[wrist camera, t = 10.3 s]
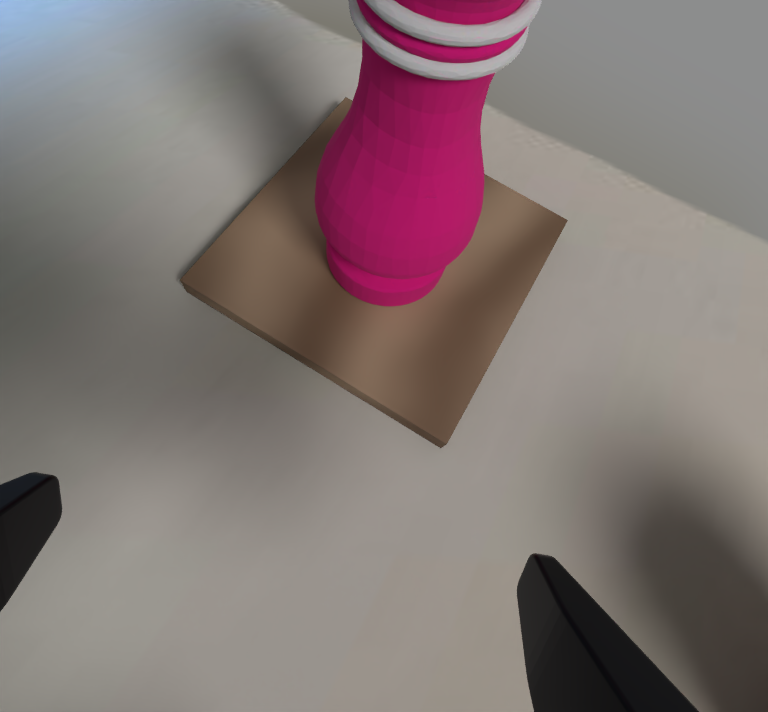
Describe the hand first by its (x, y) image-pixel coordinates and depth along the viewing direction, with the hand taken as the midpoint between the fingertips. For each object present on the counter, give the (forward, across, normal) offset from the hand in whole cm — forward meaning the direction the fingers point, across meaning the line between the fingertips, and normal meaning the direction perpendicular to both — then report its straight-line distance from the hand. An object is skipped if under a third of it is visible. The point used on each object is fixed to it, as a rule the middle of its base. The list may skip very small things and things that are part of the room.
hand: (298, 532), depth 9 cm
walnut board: (+19, -1, -2) cm, 19 cm away
